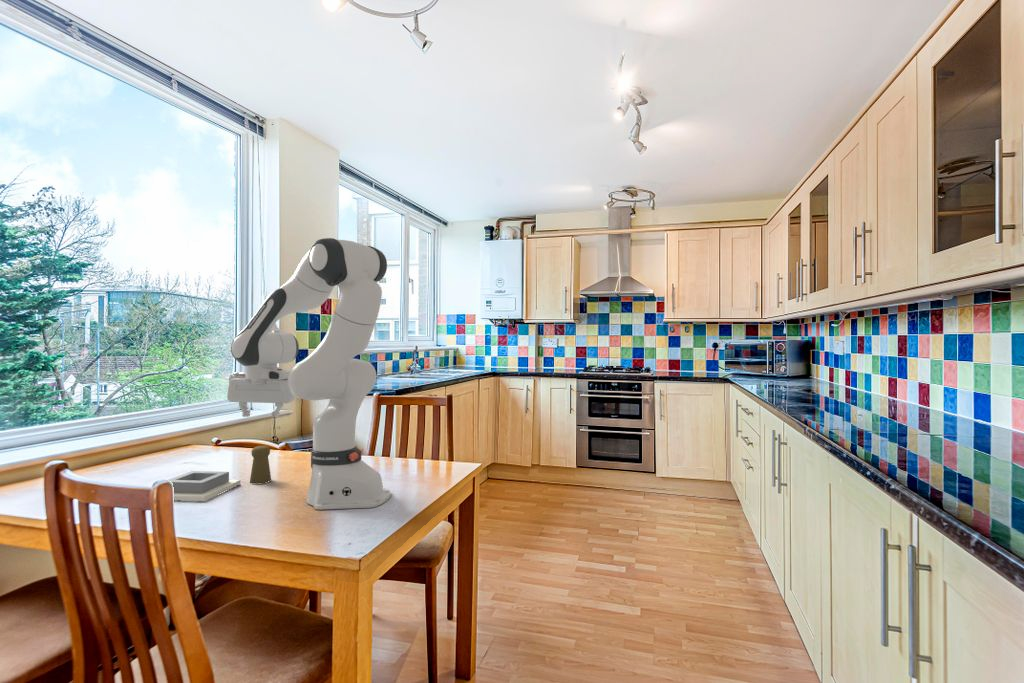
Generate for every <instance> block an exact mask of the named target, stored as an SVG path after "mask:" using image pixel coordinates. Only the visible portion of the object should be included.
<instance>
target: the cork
mask: <svg viewBox="0 0 1024 683" xmlns="http://www.w3.org/2000/svg"><path fill="white" fill-rule="evenodd" d="M250 454H251V457H252V458H253V459H252V465H251V473H250V476H249V477H250V479H249V484H250V483H264V484H266V483H265V482H268V481H270V480H271V481H272V475H271V469H270V468H271V467H270V460H269V456H270V454H271V449H270V446H268V445H258V446H255V447H253V448H252V449H251V453H250ZM271 481H270V482H271ZM268 483H269V482H268Z"/></svg>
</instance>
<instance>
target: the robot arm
mask: <svg viewBox="0 0 1024 683" xmlns="http://www.w3.org/2000/svg"><path fill="white" fill-rule="evenodd" d="M387 269H388V261H387V258H386V256H385V253H383V252H382V251H381V250H380V249H378V248H376V247H374V246H372V245H365V244H362V243H358V242H356V241H352V240H345V239H337V238H336V239H335V238H333V237H327V238H321V239H317V240H316V241H315V242H313V243H312V245H311V247H310V249H308V251H307V252H306V254H305V255H304V256H303V257H302V259H301V261H300V262H299V263H298V265H297V267H296V269H295V271H294V272H293V274H292V276H291V277H290V278H289V279H288V280H287V281H285V283H284V284H283V285H281V286H280V287H278V288H277V289H275V290H273V291H272V292H271V293H270V294H268V296H267V297H266V298H265V300H264V301H263V302H262V304H261V305H260V306H259V307H258V309H257V311H255V314H254V315H252V317H251V319H250V320H249V321H248V323H247V324H246V326H245V327H244V328H243V329H242V330H241V331H239V332H238V333H237V334H236V335H235V337H234V338H233V340H232V342H231V346H230V352H231V356H232V358H234V359H235V361H237V362H238V363H239V364H240V365H242V366H244V367H245V372H233V373H231V374H230V376H229V378H228V388H227V394H226V395H227V396H226V398H227V401H229V403H238V408H239V409H240V410H241V412H242V415H241V416H242V417H243V418H244V417H246V418H248V417H250V416H251V410H248V408H247V406H248V403H251V404H252V403H253V404H254V403H257V404H258V403H259V404H260V403H261V404H274V407H276V408H275V409H274V411H271V418H279V417H280V412H281V410H282V408H283V406H284V404H291V403H293V402H294V400H295V398H297V399H298V400H299V399H301V400H306V401H307V400H308V401H321V400H329V401H328V404H327V406H326V408H325V409H324V411H322V412H321V413H320V414H318V415H317V416H316V417H315V419H314V420H313V424H312V448H311V451H310V467H311V477H310V482H309V484H310V485H309V489H308V493H307V496H306V499H305V502H306V504H308V505H311V506H313V508H314V509H315V510H321V511H322V510H338V509H339V510H340V509H341V510H342V509H367V508H370V509H371V508H376V507H379V506H381V505H382V504H384V503H386V502H387V501H388V500H389V499H390V497H391V495H392V492H391V490H390V489H388V488H384V486H383V479H382V477H381V474H380V472H379V471H377V470H376V469H374V468H373V467H371V466H370V465H368V464H367V463H366V462H365V461H363V460H362V454H363V453H364V448H362V449H359V448H358V447H357V446H356V425H357V417H358V414H359V410H360V409H361V405H362V404H363V402H364V399H365V398H366V396H367V395H368V394H369V393H371V391H373V389H374V388H375V386H376V383H377V371H376V369H375V366H374V365H373V364H372V363H371V362H369V361H366V360H363V359H359V358H355V357H356V356H358V355H359V354H361V353H363V352H364V351H365V350H366V349H367V348H368V346H369V344H370V340H371V337H372V334H373V331H374V329H375V325H376V322H377V320H378V316H379V313H380V308H381V302H382V298H383V297H382V296H383V291H382V287H381V286H380V284H379V283H378V282H380V281H382V280H383V278H384V277H385V276H386V273H387ZM335 286H338V290H339V296H338V299H337V302H336V305H335V308H334V312H333V314H332V318H331V320H330V323H329V324H328V325H329V326H328V328H327V331H326V333H325V335H324V337H323V339H322V341H321V342H320V343H319V344H318V346H316V348H315V349H314V350H313V351H312V352H311V353H310V354H308V356H306V357H305V358H304V359H302V360H301V361H299V362H297V363H295V364H294V365H293V366H292V368H291V369H290V370H287V369H284V368H282V367H279V366H278V364H287V363H291V362H293V361H294V360H295V359H296V358H297V355H299V351H300V350H299V348H300V346H299V344H300V343H299V341H298V339H297V338H296V337H295V336H294V334H293V333H290V332H287V331H284V330H282V329H281V328H279V327H278V325H277V322H278V321H279V320H280V319H282V318H284V317H286V316H288V315H291V314H295V313H299V312H305V311H311V310H314V309H317V308H319V307H321V306H322V305H323V304H324V303H326V301H327V300H329V299H328V298H329V297H330V296H331V293H332V291H333V290H334V288H335Z"/></svg>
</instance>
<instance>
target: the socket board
mask: <svg viewBox="0 0 1024 683" xmlns="http://www.w3.org/2000/svg"><path fill="white" fill-rule="evenodd" d="M168 480H169V481H171V482H172V483H173V487H174V500H175V501H174V502H178V501H177V500H181V501H180V502H197V501H205V502H207V501H209V500H211V499H213V498H215V497H217V496H216V495H218V494H220V493H222V492H224V491H226V490H228V491H230V490H232V489H231V488H233V487H235V486H237V485H239V484H240V485H241V479H230V471H208V470H207V471H205V470H201V471H199V470H191V471H188V472H186V473H183V474H181V475H177V476H175V477H174V476H173V477H172V478H169V479H168ZM240 485H239V486H240ZM237 487H238V486H237ZM235 488H236V487H235ZM229 489H230V490H229ZM233 489H234V488H233ZM226 492H227V491H226ZM224 493H225V492H224ZM222 494H223V493H222ZM220 495H221V494H220ZM214 496H215V497H214ZM218 496H219V495H218ZM212 497H213V498H212ZM210 498H211V499H210ZM208 499H209V500H208ZM206 500H207V501H206Z"/></svg>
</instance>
